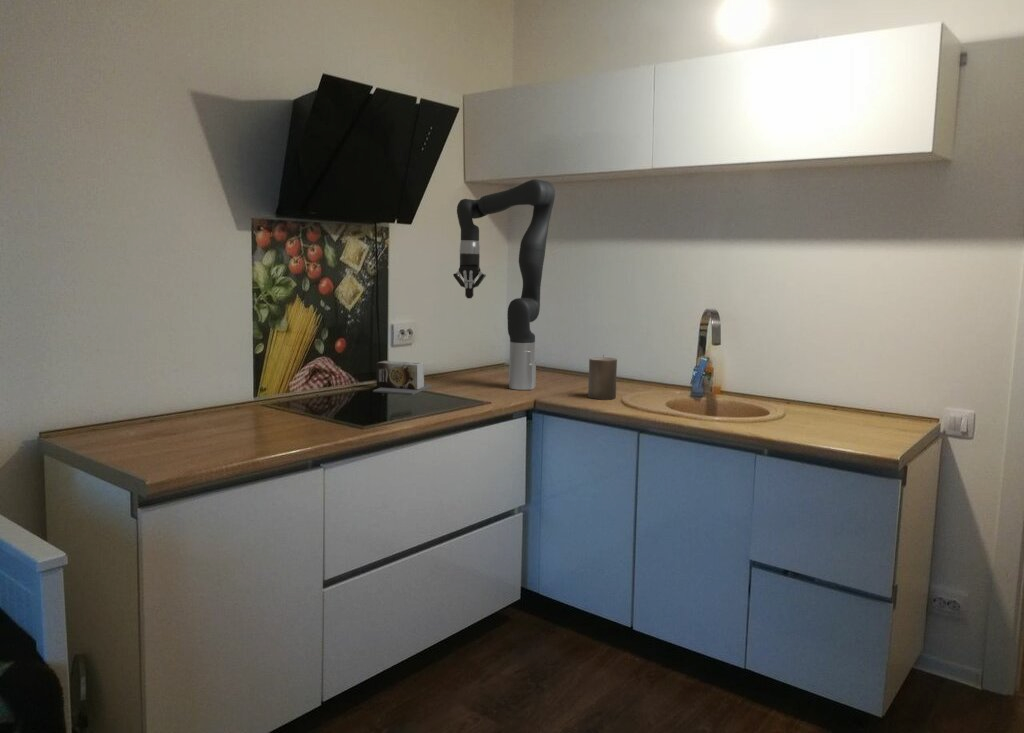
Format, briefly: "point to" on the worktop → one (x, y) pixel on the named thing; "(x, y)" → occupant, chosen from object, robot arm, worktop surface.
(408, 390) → the mat
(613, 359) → the pillar candle
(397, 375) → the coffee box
